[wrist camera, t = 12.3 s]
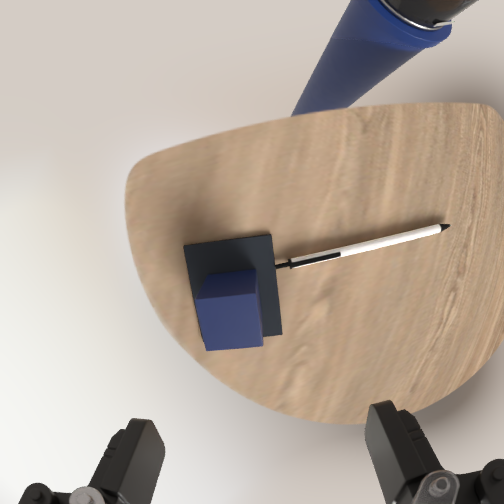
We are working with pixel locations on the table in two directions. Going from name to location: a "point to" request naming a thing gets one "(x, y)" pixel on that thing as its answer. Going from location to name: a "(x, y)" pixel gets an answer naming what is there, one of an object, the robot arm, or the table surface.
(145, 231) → the table surface
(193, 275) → the mat
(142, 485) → the robot arm
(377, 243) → the pen
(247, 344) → the block
